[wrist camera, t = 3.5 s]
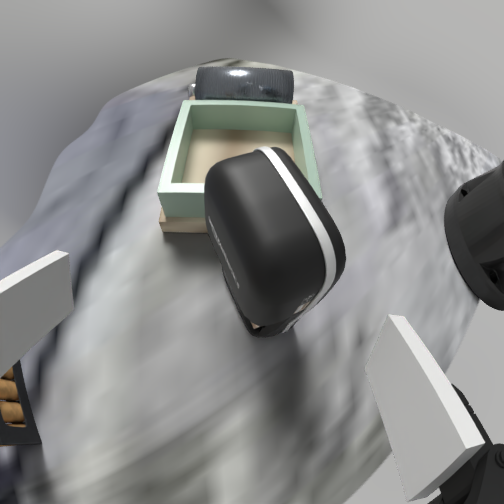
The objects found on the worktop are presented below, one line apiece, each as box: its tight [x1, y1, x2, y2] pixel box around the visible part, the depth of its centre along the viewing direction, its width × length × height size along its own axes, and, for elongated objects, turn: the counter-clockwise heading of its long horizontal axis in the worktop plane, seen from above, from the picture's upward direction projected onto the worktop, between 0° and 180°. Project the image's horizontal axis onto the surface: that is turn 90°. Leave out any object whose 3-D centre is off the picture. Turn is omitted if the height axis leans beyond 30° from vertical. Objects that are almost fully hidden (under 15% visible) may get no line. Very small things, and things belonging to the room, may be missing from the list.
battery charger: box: [204, 146, 346, 337], centre depth 15 cm, size 7×4×11 cm, turn 24°
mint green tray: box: [157, 67, 322, 233], centre depth 23 cm, size 12×17×6 cm
